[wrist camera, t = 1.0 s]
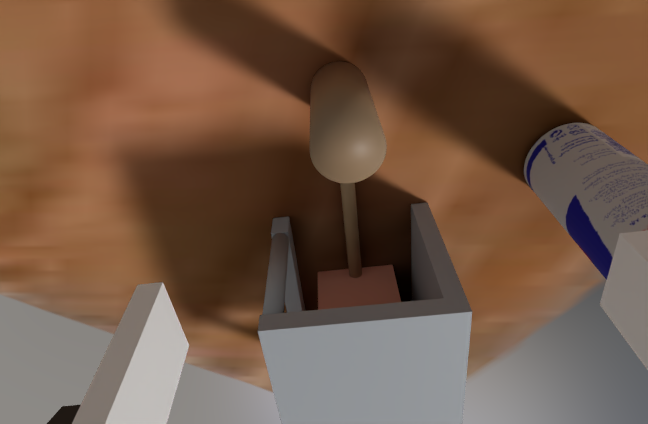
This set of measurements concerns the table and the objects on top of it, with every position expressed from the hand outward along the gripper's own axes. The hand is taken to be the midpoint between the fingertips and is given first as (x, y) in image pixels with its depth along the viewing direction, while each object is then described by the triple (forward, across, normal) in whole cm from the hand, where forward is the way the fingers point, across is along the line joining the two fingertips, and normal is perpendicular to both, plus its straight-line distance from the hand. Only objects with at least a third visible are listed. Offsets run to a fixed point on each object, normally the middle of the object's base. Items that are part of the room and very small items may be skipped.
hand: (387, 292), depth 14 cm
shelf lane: (+18, -1, -16) cm, 24 cm away
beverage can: (+19, +14, -7) cm, 24 cm away
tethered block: (+18, -1, -9) cm, 21 cm away
